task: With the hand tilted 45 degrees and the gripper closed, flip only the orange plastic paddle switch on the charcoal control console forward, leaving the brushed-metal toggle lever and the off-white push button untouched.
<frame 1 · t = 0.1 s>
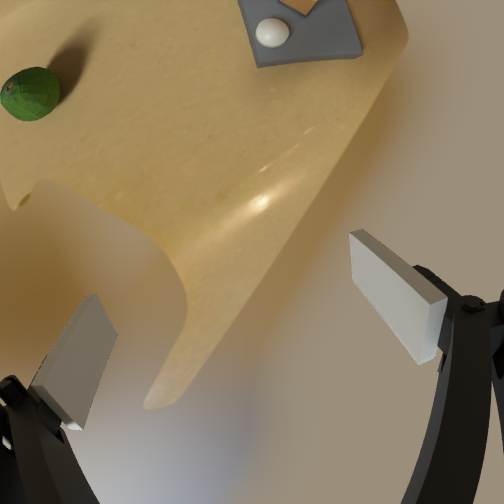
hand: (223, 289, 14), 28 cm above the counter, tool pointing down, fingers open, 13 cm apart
console: (292, 10, 30), on the counter
push button: (271, 33, 28), point 4 cm above the counter, slide at 0.0 cm
avocado: (51, 96, 31), on the counter
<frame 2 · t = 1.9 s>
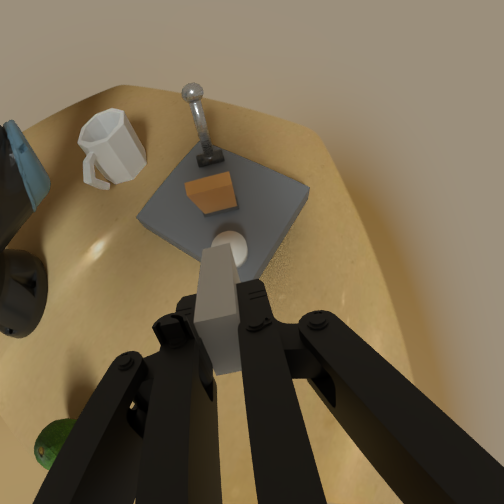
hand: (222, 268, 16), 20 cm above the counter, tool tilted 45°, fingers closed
paddle switch: (215, 197, 30), point 9 cm above the counter, hinge at -20.0°
toggle lever: (201, 126, 34), point 9 cm above the counter, hinge at 15.0°
console: (223, 212, 39), on the counter
push button: (230, 250, 33), point 4 cm above the counter, slide at 0.0 cm
mug: (121, 173, 44), on the counter
avocado: (93, 440, 29), on the counter
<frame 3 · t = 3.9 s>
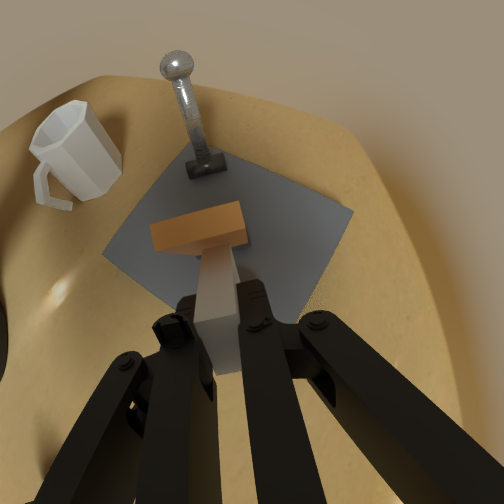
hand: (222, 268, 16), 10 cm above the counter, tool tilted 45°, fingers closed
paddle switch: (213, 237, 18), point 9 cm above the counter, hinge at -19.9°, touching gripper
toggle lever: (191, 117, 22), point 9 cm above the counter, hinge at 15.0°
console: (226, 245, 27), on the counter
mug: (91, 187, 32), on the counter
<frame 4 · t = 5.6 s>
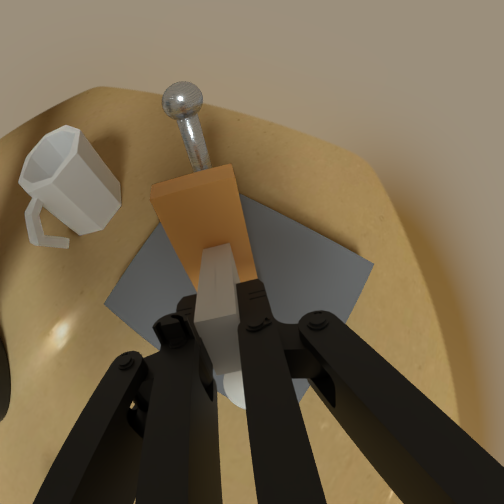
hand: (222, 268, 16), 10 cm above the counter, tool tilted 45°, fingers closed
paddle switch: (219, 260, 17), point 9 cm above the counter, hinge at 19.5°, touching gripper
toggle lever: (199, 159, 20), point 9 cm above the counter, hinge at 15.0°
console: (237, 295, 25), on the counter
push button: (253, 381, 19), point 4 cm above the counter, slide at 0.0 cm
mug: (88, 218, 30), on the counter
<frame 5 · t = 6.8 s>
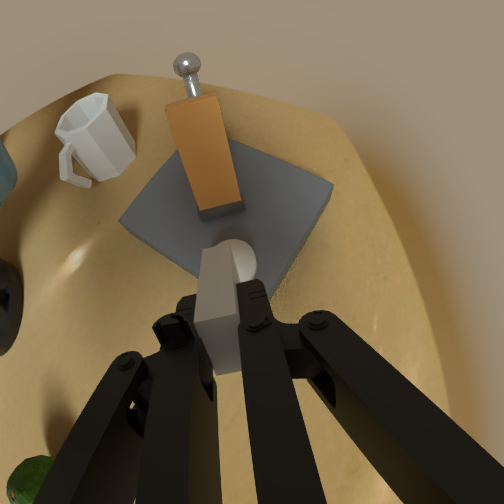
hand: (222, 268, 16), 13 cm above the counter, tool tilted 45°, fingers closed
paddle switch: (208, 162, 24), point 9 cm above the counter, hinge at 19.5°
toggle lever: (198, 107, 26), point 9 cm above the counter, hinge at 15.0°
console: (225, 214, 32), on the counter
push button: (233, 264, 25), point 4 cm above the counter, slide at 0.0 cm
mug: (107, 169, 37), on the counter
avocado: (75, 477, 21), on the counter
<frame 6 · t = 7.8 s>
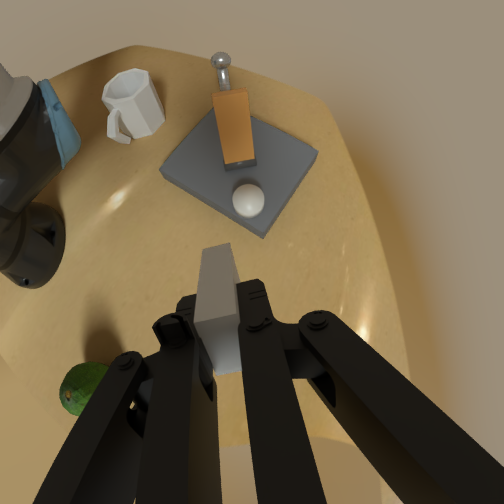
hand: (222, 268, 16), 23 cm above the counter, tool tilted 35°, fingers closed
paddle switch: (235, 132, 34), point 9 cm above the counter, hinge at 19.5°
toggle lever: (225, 90, 35), point 9 cm above the counter, hinge at 15.0°
console: (239, 167, 43), on the counter
push button: (248, 201, 37), point 4 cm above the counter, slide at 0.0 cm
mug: (140, 129, 45), on the counter
avocado: (110, 383, 36), on the counter
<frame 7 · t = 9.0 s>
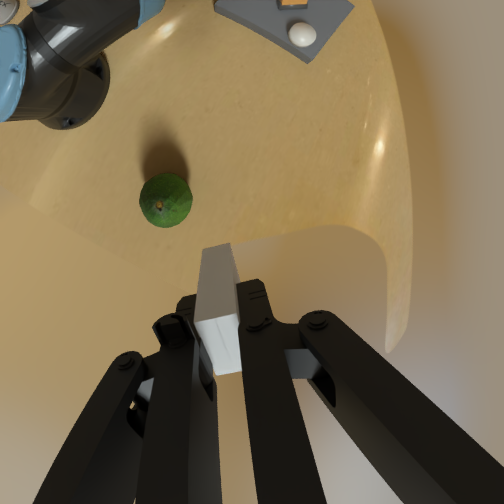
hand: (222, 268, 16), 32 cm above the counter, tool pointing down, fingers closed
travel mug: (9, 13, 24), on the counter
console: (285, 7, 35), on the counter
push button: (301, 35, 34), point 4 cm above the counter, slide at 0.0 cm
avocado: (171, 193, 46), on the counter
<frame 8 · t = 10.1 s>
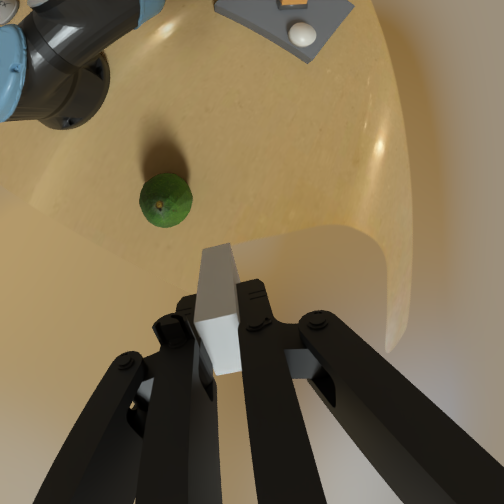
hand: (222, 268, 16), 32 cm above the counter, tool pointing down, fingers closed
travel mug: (9, 13, 24), on the counter
console: (285, 7, 34), on the counter
push button: (301, 35, 34), point 4 cm above the counter, slide at 0.0 cm
avocado: (171, 193, 46), on the counter
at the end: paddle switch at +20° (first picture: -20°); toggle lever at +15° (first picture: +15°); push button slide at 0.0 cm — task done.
